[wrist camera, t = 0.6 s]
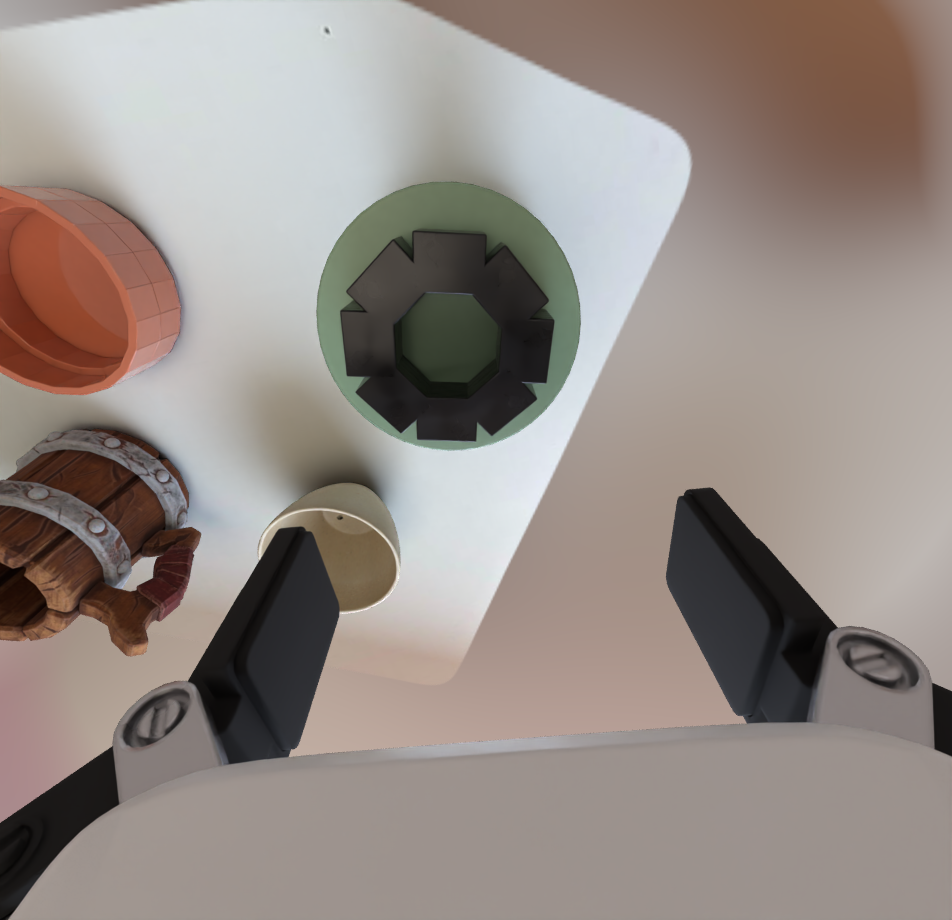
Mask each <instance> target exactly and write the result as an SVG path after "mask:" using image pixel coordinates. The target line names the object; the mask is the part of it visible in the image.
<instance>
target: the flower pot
mask: <svg viewBox="0 0 952 920" xmlns="http://www.w3.org/2000/svg"><path fill="white" fill-rule="evenodd" d="M341 517H343V518H342V519H340V518H341ZM298 526H302V527H304V528H305V529H306V531H311V532H312V533H313V535H314V538H315V540H316V543H317V546H318V548H319V551H320V554H321V556H322V559H323V562H324V564H325V567H326V570H327V573H328V575H329V578H330V581H331V583H332V586H333V589H334V591H335V594H336V597H337V599H338V602H339V607H340V613H339V614H345V613H354V612H359V611H363V610H366V609H369V608H372V607H374V606H376V605H378V604H379V603H381V602H382V601H384V600H385V599H386V598H387V597H388V596H389V595H390V594H391V593H392V591H393V590H394V588H395V587H396V585H397V583H398V580H399V575H400V547H399V540H398V535H397V531H396V528H395V525H394V522H393V519H392V517H391V515H390V513H389V511H388V509H387V507H386V506H385V504H384V503H383V501H382V500H381V499H380V498H379V497H378V496H377V495H376V494H375V493H374V492H373V491H372V490H370V489H369V488H367V487H365V486H363V485H360V484H356V483H338V484H333V485H329V486H325V487H323V488H320V489H317V490H315V491H313V492H311V493H309V494H307V495H305V496H303V497H301V498H300V499H298V500H297V501H295V502H294V503H293V504H291V505H290V506H289V507H287V508H286V509H285V510H284V511H283V512H281V513H280V514H279V515H278V516H277V517H276V518H275V519H274V520H273V521H272V522H271V523H270V524H269V526H268V527H267V528H266V529H265V531H264V532H263V534H262V536H261V539H260V541H259V545H258V560H259V561H260V559H261V557H262V555H263V554H264V552H265V550H266V549H267V547H268V545H269V543H270V542H271V540H272V538H273V537H274V535H275V533H276V532H277V530H278V529H280V528H288V527H298Z"/></svg>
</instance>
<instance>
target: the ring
mask: <svg viewBox="0 0 952 920" xmlns="http://www.w3.org/2000/svg"><path fill="white" fill-rule="evenodd" d="M486 245H487V235H486V233H485V232H481V231H462V230H442V229H423V228H419V229H416V230H414V231H412V248H411V247H410V246H409V244H408V243H407V242H406V241H405V240H404V239H403V238H402V237H401V236H400V237H397V238H395V239H392V240H391V241H390V242H389V243H388V244H387V246H386V247H385V248H384V249H383V250H382V251H381V252H380V253H379V254H378V256H377V257H376V258H375V259H374V260H373V261H372V262H371V263H370V264H369V266H368V267H367V268H366V269H365V270H364V271H363V272H362V273H361V274H360V276H359V277H358V278H357V279H356V280H355V281H354V282H353V283H352V284H351V286H350V287H349V288H348V289H347V290H346V292H347V294H348V295H349V296H350V297H351V298H352V299H353V300H354V301H351V302H350V303H349V304H348V305H346V306H345V307H344V308H343V309H341V310H340V318H341V328H342V337H343V347H344V357H345V367H346V375H347V376H348V377H364V379H363V380H362V382H361V383H360V385H359V387H358V388H357V390H356V392H355V393H356V394H357V395H358V396H359V397H360V398H361V399H363V400H364V401H365V402H366V403H367V404H368V405H369V406H370V407H372V408H373V409H374V410H375V411H376V412H377V413H378V414H379V415H381V416H382V417H383V418H384V419H385V420H386V421H387V422H388V423H389V424H391V425H392V426H393V427H394V428H395V429H396V430H397V431H398V432H400V433H401V434H402V433H403V432H404V431H405V430H406V429H408V428H409V427H410V426H411V425H412V424H413V423H414V422H415V421H416V427H417V440H430V441H460V442H476V437H477V423H478V424H479V425H480V426H481V427H482V428H483V429H484V430H485V431H486V432H487V433H488V434H489V435H490V436H493V435H494V434H496V433H497V432H498V431H499V430H501V429H502V428H503V427H504V426H506V425H507V424H508V423H509V422H510V421H512V420H513V419H514V418H515V417H517V416H518V415H519V414H520V413H522V412H523V411H524V410H525V409H526V408H528V407H529V406H530V405H531V404H533V403H534V402H535V401H536V400H537V396H536V393H535V391H534V388H533V385H532V384H546V383H547V378H548V370H549V363H550V355H551V347H552V340H553V332H554V325H555V320H554V319H553V317H552V316H551V315H550V314H549V312H548V311H547V310H546V309H542V308H543V307H544V306H545V305H546V304H547V303H548V302H549V298H548V297H547V296H546V295H545V293H544V292H543V291H542V289H541V288H540V287H539V286H538V284H537V283H536V282H535V281H534V279H533V278H532V277H531V276H530V274H529V273H528V272H527V270H526V269H525V268H524V267H523V265H522V264H521V263H520V262H519V260H518V259H517V258H516V257H515V255H514V254H513V253H512V252H511V250H510V249H509V248H508V246H507V245H506V244H504V243H503V242H500V243H499V244H498V245H497V246H496V247H495V248H494V249H493V250H492V251H491V252H490V253H489V254H488V255H487V256H486ZM425 293H438V294H460V295H472V296H473V297H474V298H475V299H476V301H477V302H478V303H479V304H480V305H481V306H482V307H483V309H484V310H485V311H486V312H487V313H488V314H489V315H490V317H491V318H492V319H493V320H494V321H495V322H496V323H497V325H498V329H497V344H496V358H495V359H494V360H493V361H491V362H490V363H489V364H488V365H487V366H486V367H485V368H484V369H482V370H481V371H480V372H479V373H478V374H477V375H476V376H475V377H473V378H472V379H471V380H470V381H469V382H468V383H464V382H438V381H430V380H429V379H428V378H427V377H426V376H425V375H424V374H423V373H421V372H420V371H419V370H418V369H417V368H416V367H415V366H414V365H413V364H412V363H411V362H410V361H409V360H408V359H407V358H406V357H405V356H404V355H403V348H402V321H401V318H402V317H403V316H404V315H405V314H406V313H407V312H408V311H409V310H410V309H411V308H412V307H413V306H414V305H415V303H416V302H417V301H418V300H419V299H420V298H421V297H422V296H423V295H424V294H425Z"/></svg>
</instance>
